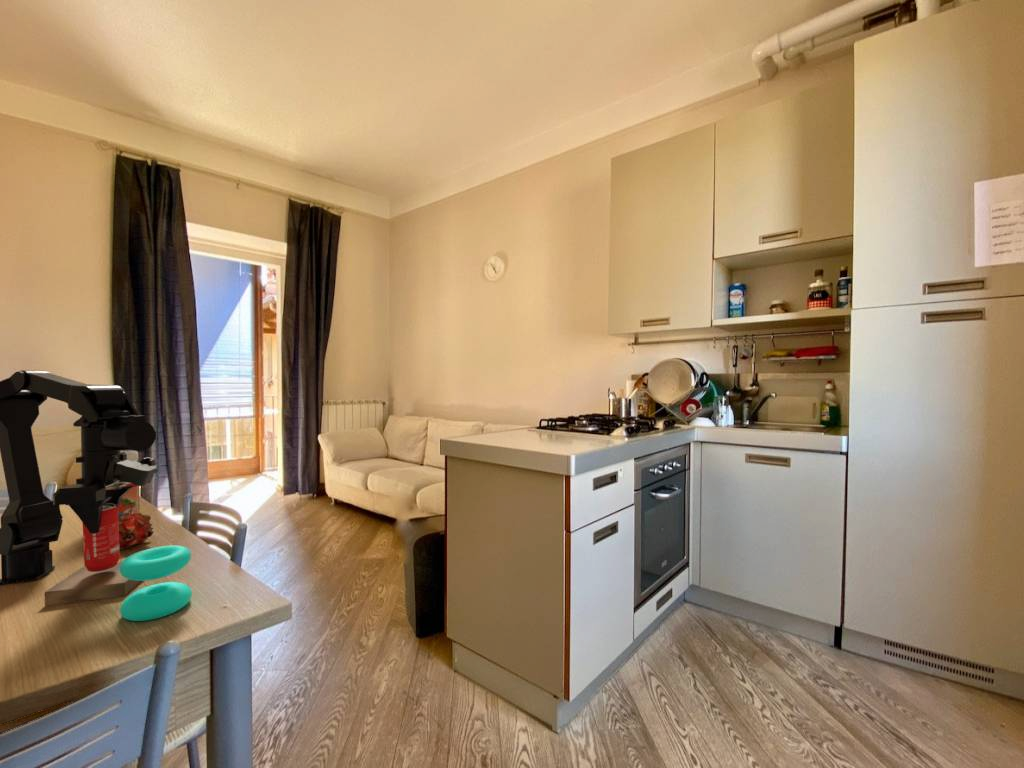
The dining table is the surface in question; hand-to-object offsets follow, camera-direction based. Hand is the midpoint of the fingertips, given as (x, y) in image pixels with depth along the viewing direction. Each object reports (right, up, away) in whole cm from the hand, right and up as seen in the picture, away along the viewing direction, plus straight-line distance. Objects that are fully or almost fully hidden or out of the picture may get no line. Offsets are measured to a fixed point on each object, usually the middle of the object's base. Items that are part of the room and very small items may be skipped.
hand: (102, 528), depth 90 cm
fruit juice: (-30, -12, +39) cm, 50 cm away
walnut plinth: (0, -11, 0) cm, 11 cm away
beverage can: (0, -8, 0) cm, 8 cm away
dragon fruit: (-13, -12, +23) cm, 29 cm away
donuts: (+18, -12, -9) cm, 23 cm away
